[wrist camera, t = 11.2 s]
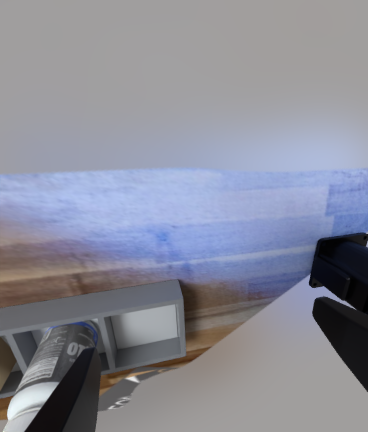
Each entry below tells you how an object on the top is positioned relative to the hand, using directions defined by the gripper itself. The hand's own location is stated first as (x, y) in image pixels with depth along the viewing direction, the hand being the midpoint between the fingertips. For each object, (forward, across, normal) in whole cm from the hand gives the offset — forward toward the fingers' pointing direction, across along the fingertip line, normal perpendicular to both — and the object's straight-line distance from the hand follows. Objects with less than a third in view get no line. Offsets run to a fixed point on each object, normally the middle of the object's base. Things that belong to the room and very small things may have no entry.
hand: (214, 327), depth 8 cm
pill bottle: (+11, +11, +10) cm, 18 cm away
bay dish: (+12, +11, +10) cm, 19 cm away
